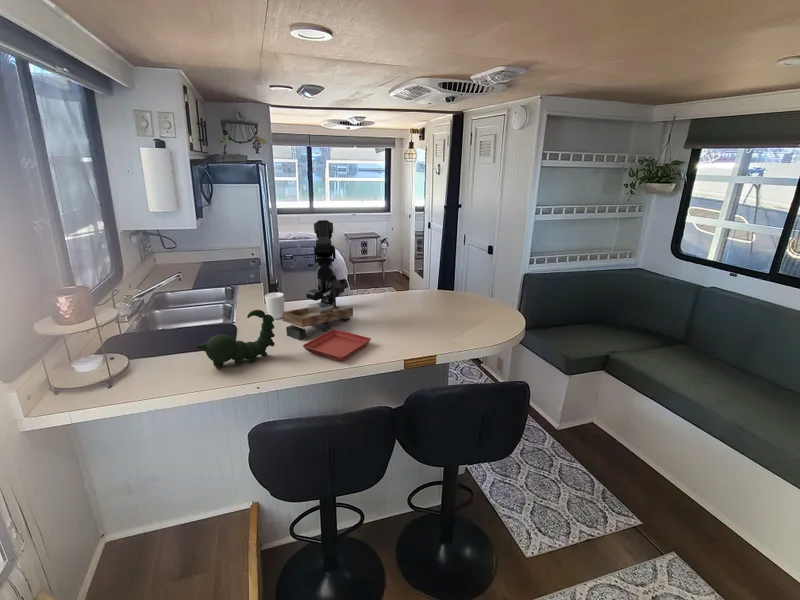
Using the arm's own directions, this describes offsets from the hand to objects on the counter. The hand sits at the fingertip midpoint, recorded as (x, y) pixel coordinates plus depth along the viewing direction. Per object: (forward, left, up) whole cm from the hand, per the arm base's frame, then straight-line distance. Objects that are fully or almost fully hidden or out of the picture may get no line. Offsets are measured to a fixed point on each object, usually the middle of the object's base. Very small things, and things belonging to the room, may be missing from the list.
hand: (329, 308), depth 176 cm
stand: (+6, 0, -6) cm, 9 cm away
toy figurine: (+44, +2, -7) cm, 44 cm away
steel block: (+5, 0, -1) cm, 6 cm away
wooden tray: (+6, 0, -2) cm, 7 cm away
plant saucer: (+16, +21, -7) cm, 28 cm away
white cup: (+9, -25, -7) cm, 27 cm away
